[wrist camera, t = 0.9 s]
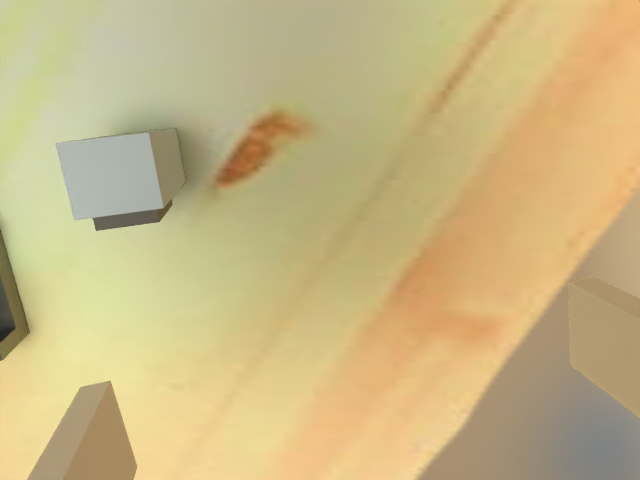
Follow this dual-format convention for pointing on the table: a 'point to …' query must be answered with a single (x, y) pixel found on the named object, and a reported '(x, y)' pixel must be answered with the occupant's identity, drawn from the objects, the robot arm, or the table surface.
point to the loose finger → (122, 177)
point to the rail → (9, 308)
